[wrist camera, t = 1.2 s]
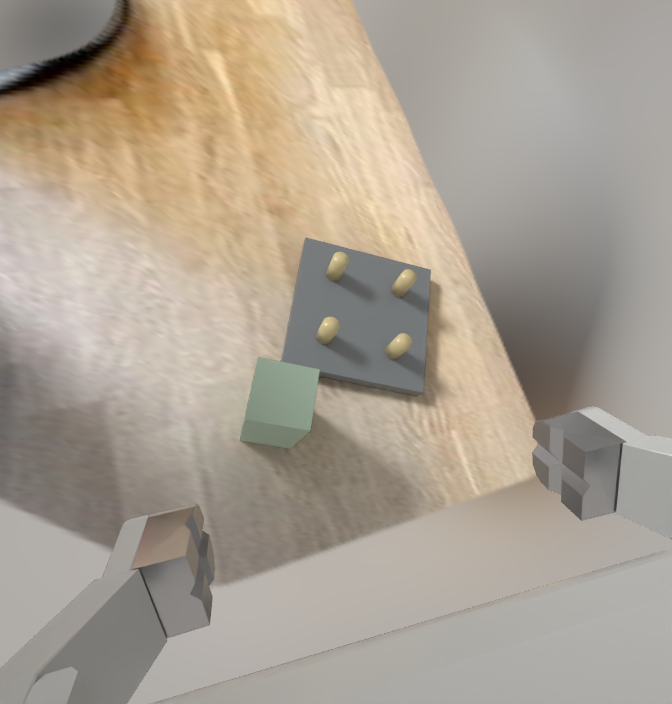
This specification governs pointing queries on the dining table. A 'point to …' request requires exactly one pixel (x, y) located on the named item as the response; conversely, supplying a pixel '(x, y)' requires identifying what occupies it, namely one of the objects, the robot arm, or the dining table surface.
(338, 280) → the plate
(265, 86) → the dining table surface
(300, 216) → the dining table surface
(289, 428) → the green block
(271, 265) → the dining table surface
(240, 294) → the dining table surface
